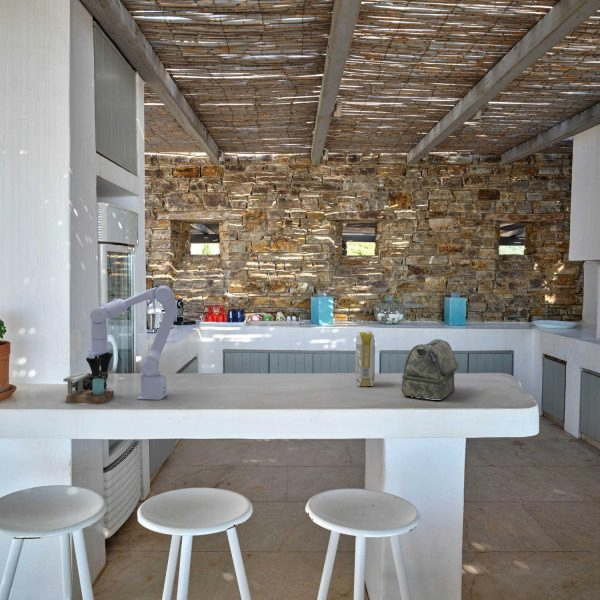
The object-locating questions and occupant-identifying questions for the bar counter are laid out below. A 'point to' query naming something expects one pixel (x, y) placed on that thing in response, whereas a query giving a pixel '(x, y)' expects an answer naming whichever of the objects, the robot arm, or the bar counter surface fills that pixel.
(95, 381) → the peg
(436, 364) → the lunch bag
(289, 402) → the bar counter surface
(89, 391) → the socket station
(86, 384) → the fruit
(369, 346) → the juice carton
